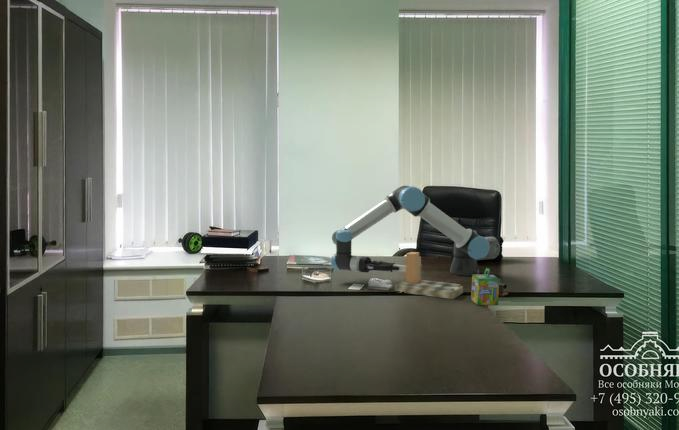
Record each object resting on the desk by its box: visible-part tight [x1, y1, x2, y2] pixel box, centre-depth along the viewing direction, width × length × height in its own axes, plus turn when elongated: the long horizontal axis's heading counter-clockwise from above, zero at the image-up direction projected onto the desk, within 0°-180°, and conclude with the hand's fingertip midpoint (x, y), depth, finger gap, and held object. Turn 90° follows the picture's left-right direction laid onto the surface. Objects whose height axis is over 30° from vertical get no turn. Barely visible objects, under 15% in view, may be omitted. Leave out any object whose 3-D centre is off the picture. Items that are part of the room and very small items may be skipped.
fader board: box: [394, 277, 464, 300], centre depth 265 cm, size 28×13×4 cm, turn 61°
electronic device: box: [498, 278, 509, 298], centre depth 260 cm, size 4×10×8 cm, turn 44°
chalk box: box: [470, 267, 500, 306], centre depth 245 cm, size 9×9×15 cm
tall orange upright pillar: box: [405, 251, 420, 284], centre depth 268 cm, size 4×6×14 cm, turn 151°
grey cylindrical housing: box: [450, 233, 504, 262], centre depth 345 cm, size 15×28×15 cm, turn 116°
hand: (406, 268), depth 269 cm, fingers closed
